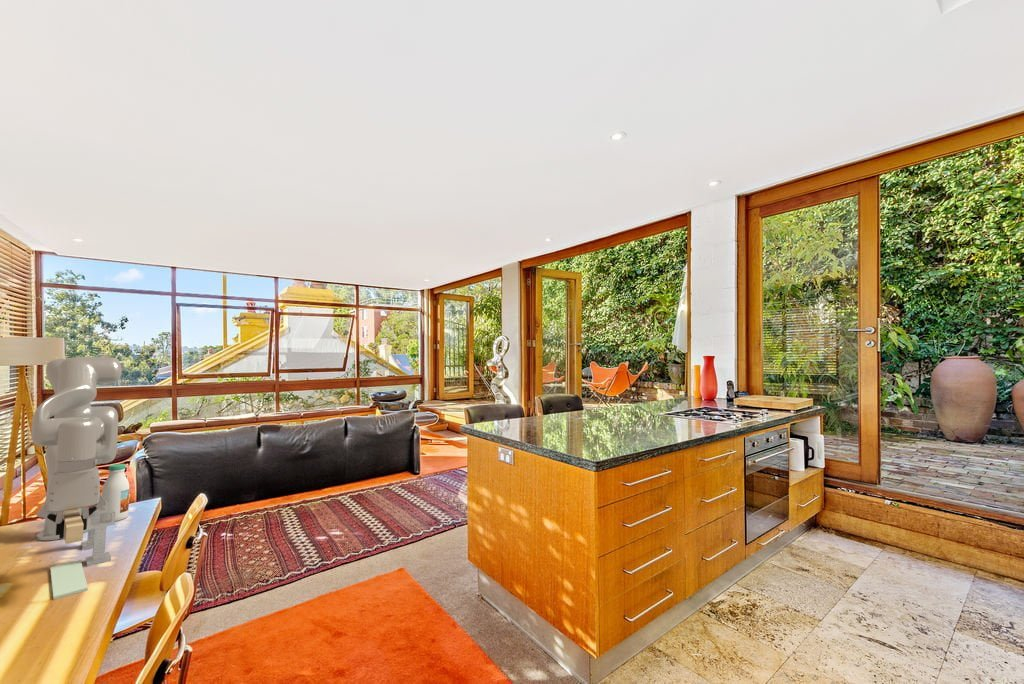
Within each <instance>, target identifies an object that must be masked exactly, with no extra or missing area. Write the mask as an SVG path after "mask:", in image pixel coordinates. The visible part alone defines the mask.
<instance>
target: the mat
mask: <svg viewBox="0 0 1024 684" xmlns="http://www.w3.org/2000/svg"><path fill="white" fill-rule="evenodd" d="M83 567H84V566H83V564H82V561H81V559H79V560H75V561H71V562H66V563H63V564H59V565H54V566H50V567H49V568H50V570H49V572H50V571H51V572H50V580H51V591H52V598H53V600H57V599H60V598H64V597H67V596H71V595H74V594H77V593H82V592H86V591H88V590H89V586H88V582H87V579H86V576H85V571H84V568H83Z"/></svg>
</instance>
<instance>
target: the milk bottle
mask: <svg viewBox="0 0 1024 684" xmlns="http://www.w3.org/2000/svg"><path fill="white" fill-rule="evenodd" d="M126 467H127V466H126V464H125V463H115V464H110V465H109V466H108V477H107V479H106V480H105V482H104V484H103V485H102V489H101V494H100V495H101V496H102V498H103V499H104V500H108V501H109V508H108V512H106V513H100V522H102V521H107V520H110V513H111V512H112V511H114V512H115V513H116V514H115V522H118V521H122V520H123V521H124V520H126V519H127V518H128V516H129V506H130V505H129V504H130V503H129V502H130V482H129V480H128V478H127V476H126V474H125V470H126ZM101 508H104V506H102V507H101ZM101 508H99V509H101Z"/></svg>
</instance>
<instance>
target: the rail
mask: <svg viewBox="0 0 1024 684" xmlns="http://www.w3.org/2000/svg"><path fill="white" fill-rule="evenodd" d="M63 520H64V538H63V539H64V543H65V545H68V544H72V543H77V542H84V541H83V539H84V533H83V527H84V524H83V521H82V518H81V516H80V513H79V510H78V509H72V510H66V511H64V514H63Z"/></svg>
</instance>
